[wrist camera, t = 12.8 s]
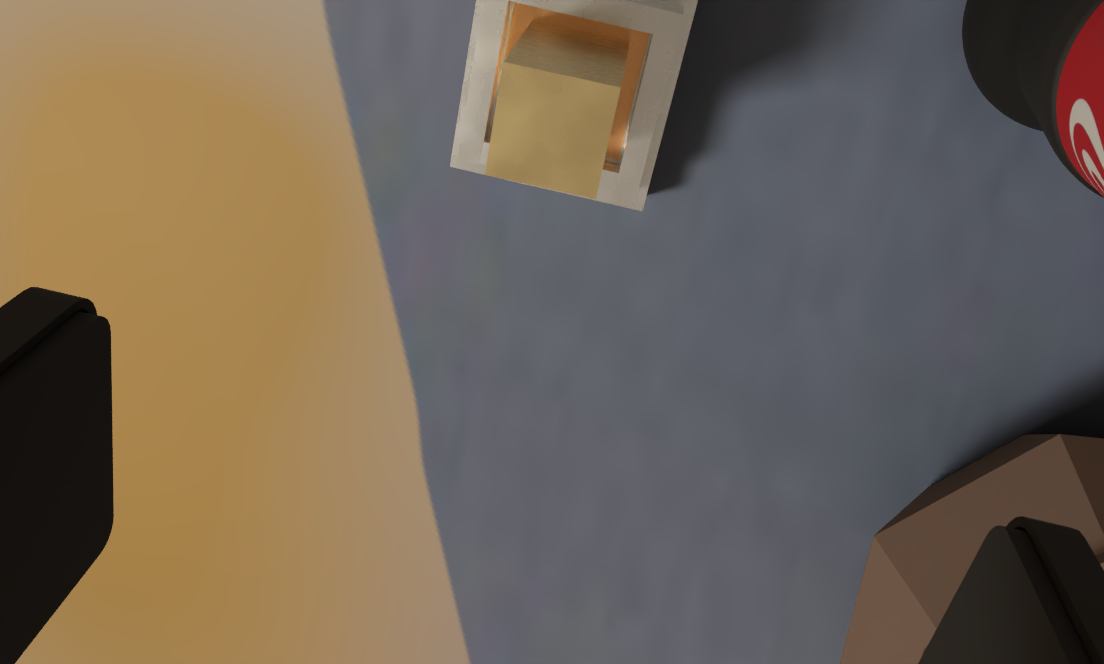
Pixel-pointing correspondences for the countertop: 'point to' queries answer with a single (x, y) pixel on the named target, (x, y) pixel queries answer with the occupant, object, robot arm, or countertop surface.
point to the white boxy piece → (645, 96)
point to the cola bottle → (1044, 73)
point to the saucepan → (968, 537)
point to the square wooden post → (556, 108)
